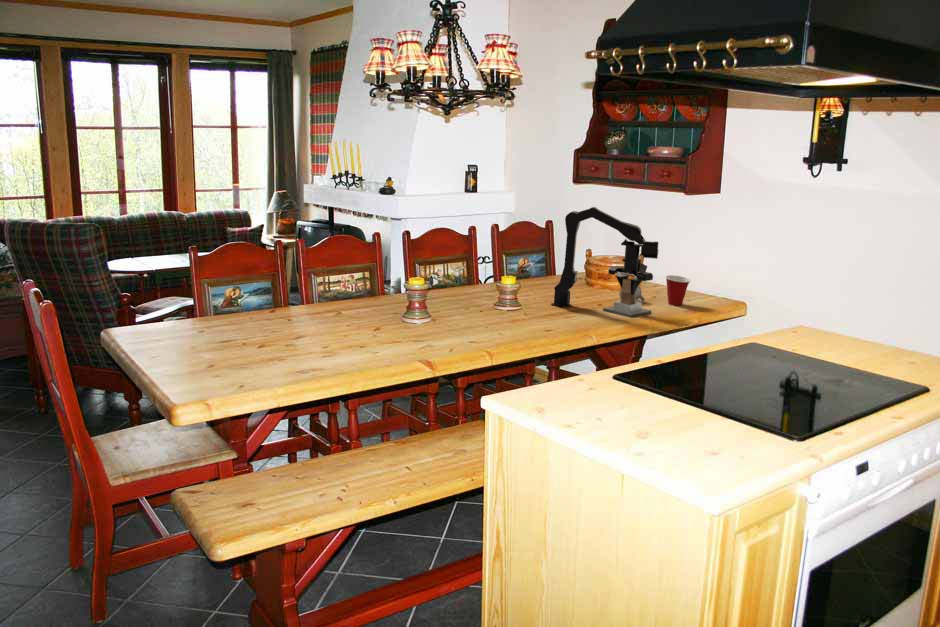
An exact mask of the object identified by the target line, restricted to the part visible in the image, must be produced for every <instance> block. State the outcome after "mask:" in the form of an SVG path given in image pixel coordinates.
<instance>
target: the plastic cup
mask: <svg viewBox="0 0 940 627" xmlns="http://www.w3.org/2000/svg"><path fill="white" fill-rule="evenodd" d="M665 279H666V292H667V293H666V294H667V304H668V305H669V306H674V307H675V306H676V307H678V306H682V305H683V303H684V299H685V296H686V293H687V290H688V289H687V288H688V286H689V284H690V283H691V281H692V280H691V278H689V277H685V276H681V275H680V276H679V275H665Z"/></svg>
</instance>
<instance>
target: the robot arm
mask: <svg viewBox="0 0 940 627" xmlns="http://www.w3.org/2000/svg"><path fill="white" fill-rule="evenodd" d="M592 218H593V219H595V220H597V221H598V222H601V223H602V224H605V225H606V226H609V227H611V228H612V229H613V230H616V231H618V232H619V233H620V234H621V235H622V236H623V237H625V239H624V240H623V241H622V242H621V243H620V245H621V246H625V248H624V258H622V262H623V266H618V265H617V266H610V267H609V268H608V272H607V274H608V275H612V276H614V277H615V278H616V280H617V281H618V283H619V286H620V290H621V289H622V284H623V279H629V277H633V278H630V279H631V294H632V295H634V294H635V292H636V289H637V287H638V285H639V286H640V283H641V282H647V281H653V280H654V275H653V273H652V272H648V271H647V269H648V265H646V264H644V263H642V260H641V259H640V255H641V256H642V257H643V259H644V258H645V259H657V260H658V258H659V241H646V240H645V238H644V236H643V234H642V228H641V227H640V226H638V225H637V224H633V223H629V222H625V221H622V220H620V219H618V218H616V217H614V216H613V215H610V214H608V213H606V212H604V211H602V210H600V209H599V208H598V207H596V206H591V207H590V208H587V209H583V210H581V211H580V210H579V211H576V210H573V211H570V212H568V213H567V214H566V216H565V219H564V222H565V230H566V243H565V254H564V266H563V269H562V273H561V276H560V279H559V282H558V283H557V285H555V286H554V287H553V289H554V294H553V295H554V299H553V303H550V305H552V306H555V307H558V308H567V307H572V306H573V304H571V303H570V302H571V290H570V289H572V288H573V286H574V285H575V284H576V283H577V281H578V273H579V272H578V270H575V258H576V247H577V237H578V236H577V235H578V231H579V229H580V226H581V222H583V221H586V220H588V219H592ZM640 248H641V249H640Z"/></svg>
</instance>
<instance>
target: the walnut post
mask: <svg viewBox="0 0 940 627" xmlns="http://www.w3.org/2000/svg"><path fill="white" fill-rule="evenodd" d="M631 279H632V278H628V279H623V284H622V295H621V298H620V301H621V303H624V304H629V305H630V304H635V294H636V292H635V294H634V295H632V294H631Z"/></svg>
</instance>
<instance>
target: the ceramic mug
mask: <svg viewBox="0 0 940 627" xmlns="http://www.w3.org/2000/svg"><path fill="white" fill-rule="evenodd" d="M642 292H643V291H642V287H641V286H640V284H639V285H638V287H637V289H636V294H635V302H639V303H642V304H644V302H645V297H644V296H643V295H642ZM618 295H619V298H620V299H621V295H622V289H621V288H620V290H619V292H618ZM639 299H640V300H639Z"/></svg>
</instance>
